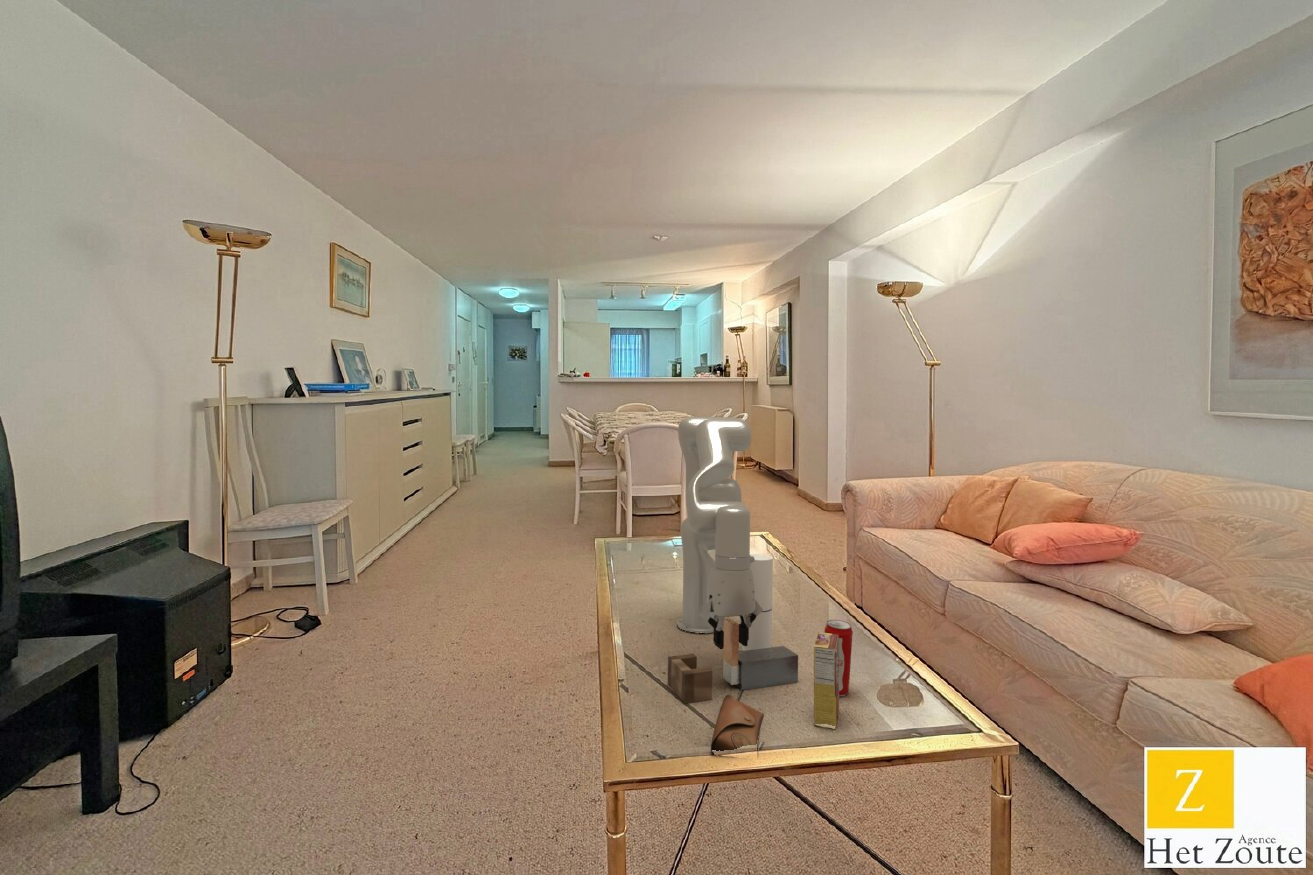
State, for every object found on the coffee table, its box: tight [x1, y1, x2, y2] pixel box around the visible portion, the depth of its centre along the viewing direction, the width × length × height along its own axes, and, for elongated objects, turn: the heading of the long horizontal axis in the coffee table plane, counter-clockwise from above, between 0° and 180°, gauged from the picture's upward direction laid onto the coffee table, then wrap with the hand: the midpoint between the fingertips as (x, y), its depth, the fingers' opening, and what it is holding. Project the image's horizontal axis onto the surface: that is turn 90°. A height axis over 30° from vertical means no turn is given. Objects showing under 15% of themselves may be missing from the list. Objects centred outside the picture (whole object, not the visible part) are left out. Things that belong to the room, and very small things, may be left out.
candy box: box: [813, 632, 840, 726], centre depth 114 cm, size 9×4×15 cm, turn 158°
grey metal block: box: [735, 645, 799, 691], centre depth 131 cm, size 6×14×6 cm, turn 109°
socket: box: [667, 653, 713, 704], centre depth 125 cm, size 10×6×6 cm, turn 20°
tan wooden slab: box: [722, 618, 741, 686], centre depth 130 cm, size 4×14×13 cm, turn 110°
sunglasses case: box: [710, 694, 765, 752], centre depth 108 cm, size 18×7×7 cm
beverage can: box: [823, 619, 854, 697], centre depth 126 cm, size 6×6×15 cm
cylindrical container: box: [741, 553, 774, 651], centre depth 144 cm, size 7×7×25 cm
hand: (731, 644), depth 128 cm, fingers open, 5 cm apart
